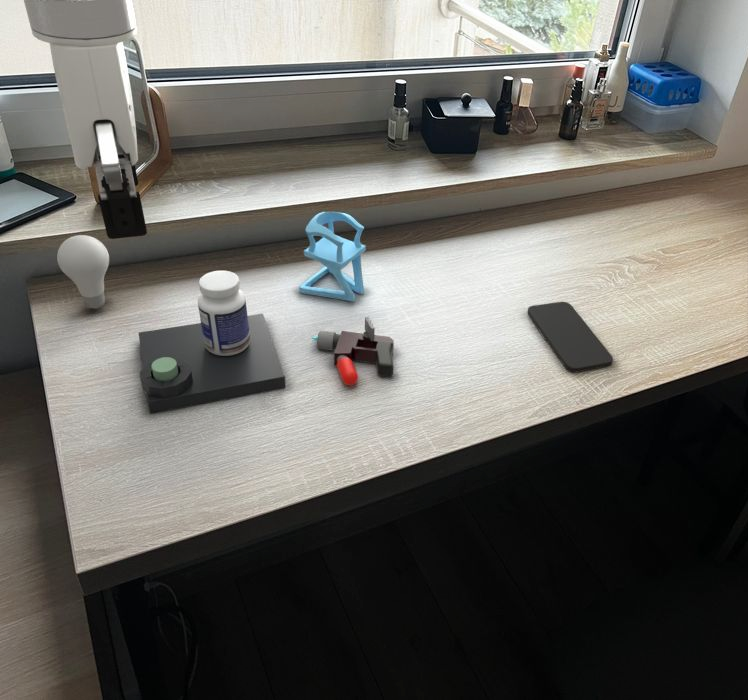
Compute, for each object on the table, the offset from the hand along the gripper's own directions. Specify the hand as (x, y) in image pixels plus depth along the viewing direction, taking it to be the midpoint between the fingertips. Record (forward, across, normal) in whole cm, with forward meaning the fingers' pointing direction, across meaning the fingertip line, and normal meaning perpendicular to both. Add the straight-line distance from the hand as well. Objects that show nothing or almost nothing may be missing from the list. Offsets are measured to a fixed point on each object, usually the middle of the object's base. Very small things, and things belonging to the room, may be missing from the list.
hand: (124, 209), depth 67 cm
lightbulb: (+28, -27, -7) cm, 40 cm away
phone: (+28, -2, +55) cm, 62 cm away
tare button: (+25, -6, 0) cm, 26 cm away
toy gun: (+28, -5, +23) cm, 37 cm away
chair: (+28, -23, +26) cm, 45 cm away
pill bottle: (+27, -11, +8) cm, 30 cm away
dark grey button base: (+28, -10, +6) cm, 31 cm away
